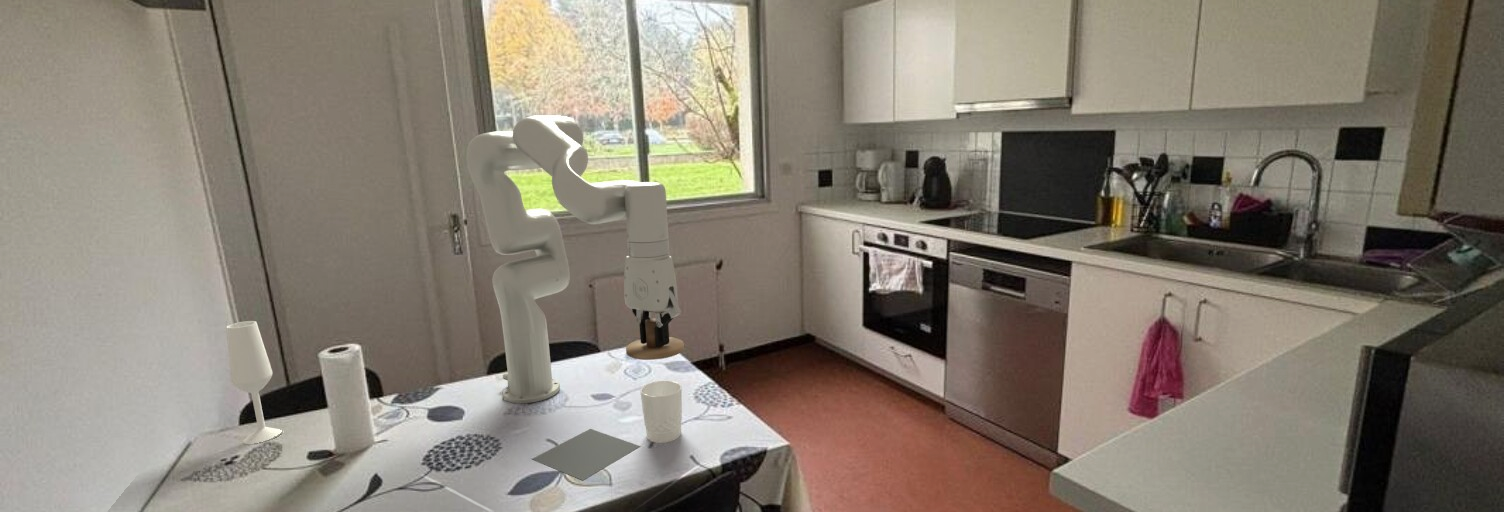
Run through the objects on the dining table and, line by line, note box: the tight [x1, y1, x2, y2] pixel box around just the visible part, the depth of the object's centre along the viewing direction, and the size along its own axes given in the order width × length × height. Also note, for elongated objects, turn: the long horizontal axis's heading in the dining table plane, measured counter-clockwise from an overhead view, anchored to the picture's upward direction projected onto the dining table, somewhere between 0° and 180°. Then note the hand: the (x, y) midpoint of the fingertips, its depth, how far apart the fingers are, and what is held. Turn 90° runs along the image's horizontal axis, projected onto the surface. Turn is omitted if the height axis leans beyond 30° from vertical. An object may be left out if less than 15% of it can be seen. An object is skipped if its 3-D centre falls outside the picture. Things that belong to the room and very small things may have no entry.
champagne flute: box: [226, 320, 283, 445], centre depth 127 cm, size 7×7×24 cm
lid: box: [625, 317, 685, 361], centre depth 120 cm, size 11×11×6 cm
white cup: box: [640, 380, 683, 444], centre depth 123 cm, size 8×8×10 cm
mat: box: [531, 428, 641, 481], centre depth 118 cm, size 14×14×1 cm
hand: (655, 342), depth 121 cm, fingers closed on lid, 3 cm apart
